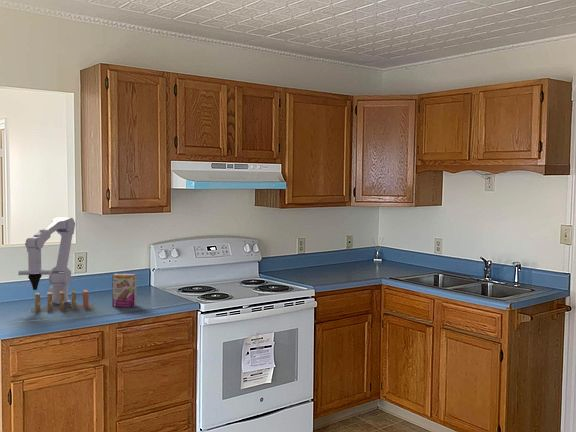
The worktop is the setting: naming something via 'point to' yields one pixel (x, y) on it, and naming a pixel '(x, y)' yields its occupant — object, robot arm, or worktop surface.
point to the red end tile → (85, 299)
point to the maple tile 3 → (61, 300)
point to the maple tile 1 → (37, 301)
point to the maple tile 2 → (49, 300)
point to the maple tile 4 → (73, 299)
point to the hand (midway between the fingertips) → (35, 289)
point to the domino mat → (57, 308)
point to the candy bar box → (124, 290)
